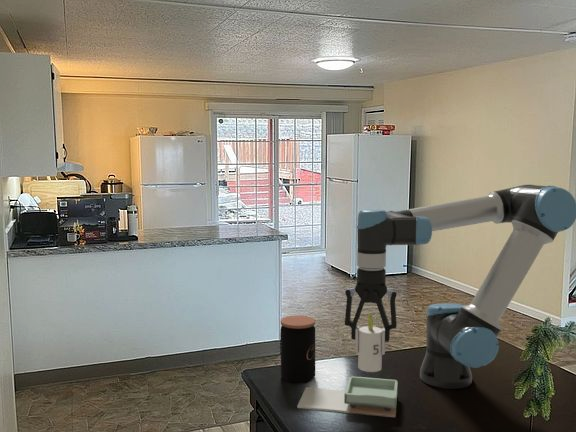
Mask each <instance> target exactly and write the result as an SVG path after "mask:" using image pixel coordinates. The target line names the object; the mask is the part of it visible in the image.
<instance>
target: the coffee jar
mask: <svg viewBox="0 0 576 432" xmlns="http://www.w3.org/2000/svg"><path fill="white" fill-rule="evenodd" d="M315 324H316V319H315V318H313V317H311V316H308V315H289V316H285V317H282V318H281V319H280V325H281V327H280V376H281V378H282V379H283V380H284V381H285V382H287V383H290V384H307V383H309V381H310V382H312V381H313V380H314V378H315V376H316V327H315Z"/></svg>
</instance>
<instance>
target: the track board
mask: <svg viewBox="0 0 576 432" xmlns="http://www.w3.org/2000/svg"><path fill="white" fill-rule="evenodd" d="M345 391H346V390H343V389H330V388H321V387H319V388H318V387H308V386H306V387H305V388H304V390H303V393H302V396H301V397H300V400H299V401H298V403H297V409H305V410H313V411H314V410H315V411H326V412H334V413H345V414H354V415H365V416H375V417H377V416H378V417H386V418H396V415H397V407H396V408H391V410H390V411H386V410H385V409H384V407H376V406H365V405H357V406H356V407H355V408H352V407H351V406H350V404H344V394H345ZM396 405H398V404H397V403H396Z"/></svg>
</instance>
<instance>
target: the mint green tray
mask: <svg viewBox="0 0 576 432" xmlns="http://www.w3.org/2000/svg"><path fill="white" fill-rule="evenodd" d="M347 380H348V381H347V384H346V388H345V390H344V391H345V394H344V404H350V406H351V407H352V408H355V407H356V406H357V405H365V406H376V407H384V409H385V410H386V411H390V410H391V408H396V409H397V404H396V403H397V401H398V400H397V399H398V388H399V387H398V382H399V381H398V379H391V378H390V379H388V378H378V377H377V378H376V377H366V376H365V377H363V376H353V375H349V377H348V379H347Z"/></svg>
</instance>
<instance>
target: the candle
mask: <svg viewBox="0 0 576 432" xmlns="http://www.w3.org/2000/svg"><path fill="white" fill-rule="evenodd" d="M367 322H368V325H367V326H365V325H364V326H361V327H359V349H358V353H357V368H358V369H359V370H360V371H363V372H367V373H376V372H377V373H378V372H380V371H382V365H383V364H382V363H383V362H382V361H383V360H382V359H383V355H382V327H381V328H380V327H377V326H374V320H373V316H372V313H371V312H369V313H368V321H367Z"/></svg>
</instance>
